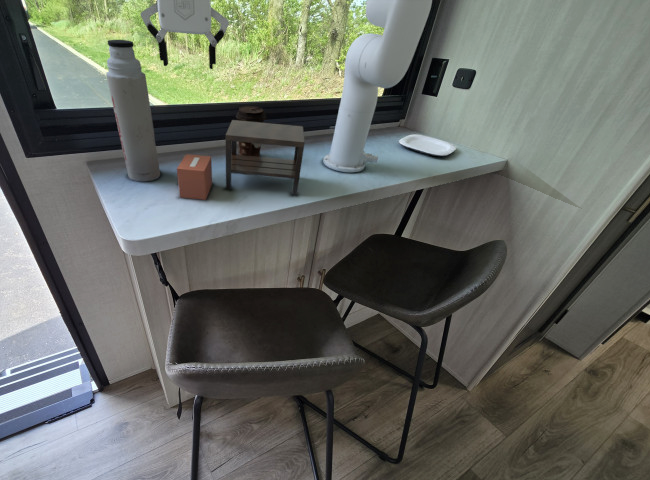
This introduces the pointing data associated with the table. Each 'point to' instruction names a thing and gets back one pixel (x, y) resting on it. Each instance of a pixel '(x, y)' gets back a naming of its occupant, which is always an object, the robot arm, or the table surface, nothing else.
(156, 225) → the table surface
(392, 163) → the table surface
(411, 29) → the robot arm
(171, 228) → the table surface
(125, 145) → the thermos bottle
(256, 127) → the slatted side table
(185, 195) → the tissue box
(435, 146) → the plate
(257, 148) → the coffee cup
